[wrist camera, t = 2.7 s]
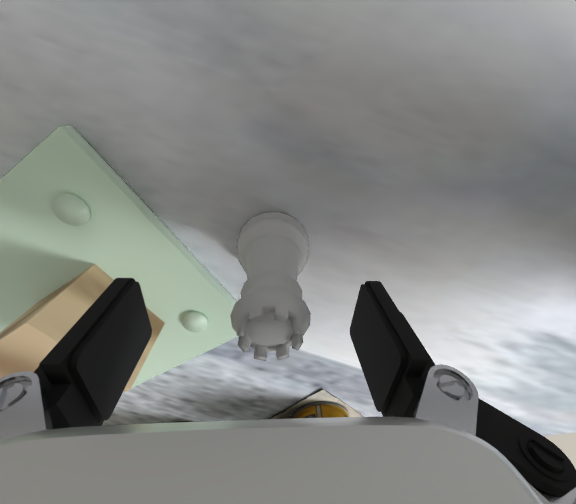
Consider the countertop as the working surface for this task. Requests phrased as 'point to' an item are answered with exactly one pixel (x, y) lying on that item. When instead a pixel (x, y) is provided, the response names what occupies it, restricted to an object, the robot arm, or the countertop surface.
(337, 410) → the condiment
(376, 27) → the countertop surface
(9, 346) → the oak brick
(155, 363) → the build plate
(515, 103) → the countertop surface
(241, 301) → the rook chess piece
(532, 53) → the countertop surface
